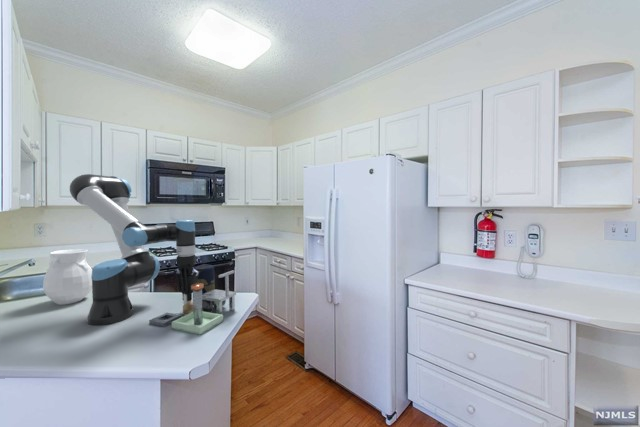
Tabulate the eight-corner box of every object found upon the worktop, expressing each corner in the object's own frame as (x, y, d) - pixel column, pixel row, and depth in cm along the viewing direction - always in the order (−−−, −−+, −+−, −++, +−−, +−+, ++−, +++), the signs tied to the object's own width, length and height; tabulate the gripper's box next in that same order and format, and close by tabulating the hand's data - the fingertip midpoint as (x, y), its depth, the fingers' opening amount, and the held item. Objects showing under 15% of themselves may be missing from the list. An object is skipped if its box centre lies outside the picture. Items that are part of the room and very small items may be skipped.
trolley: (198, 314, 114) (197, 273, 114) (215, 305, 124) (214, 268, 123) (220, 318, 110) (219, 275, 109) (236, 308, 120) (235, 270, 119)
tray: (171, 328, 101) (171, 321, 101) (196, 316, 112) (196, 310, 112) (200, 334, 96) (200, 327, 96) (223, 321, 107) (223, 314, 107)
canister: (219, 299, 132) (218, 263, 132) (201, 305, 124) (200, 267, 124) (207, 295, 137) (206, 261, 137) (189, 301, 129) (189, 264, 129)
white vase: (71, 308, 121) (69, 254, 121) (31, 308, 122) (29, 254, 121) (104, 294, 140) (103, 247, 139) (70, 294, 140) (69, 247, 140)
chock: (182, 314, 114) (182, 305, 114) (191, 310, 119) (191, 301, 119) (194, 316, 112) (194, 307, 112) (202, 311, 117) (202, 302, 117)
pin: (189, 324, 103) (188, 286, 102) (198, 320, 107) (197, 282, 106) (198, 326, 101) (197, 287, 101) (206, 321, 105) (205, 283, 105)
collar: (149, 323, 105) (149, 320, 105) (167, 315, 112) (167, 312, 112) (164, 327, 102) (164, 323, 102) (181, 318, 110) (181, 315, 110)
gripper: (167, 255, 116) (169, 308, 116) (190, 257, 111) (191, 312, 112) (182, 252, 123) (183, 303, 123) (204, 254, 118) (205, 306, 119)
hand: (187, 307), depth 118 cm, fingers closed
